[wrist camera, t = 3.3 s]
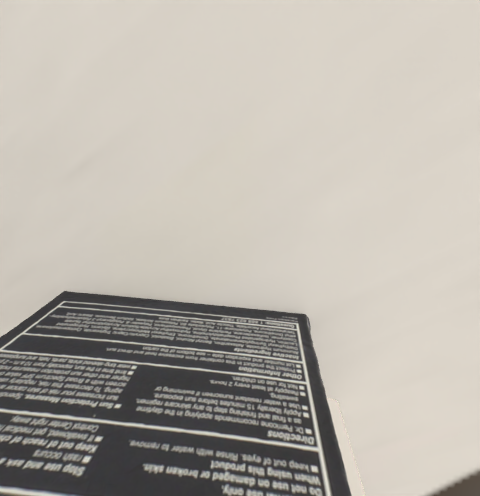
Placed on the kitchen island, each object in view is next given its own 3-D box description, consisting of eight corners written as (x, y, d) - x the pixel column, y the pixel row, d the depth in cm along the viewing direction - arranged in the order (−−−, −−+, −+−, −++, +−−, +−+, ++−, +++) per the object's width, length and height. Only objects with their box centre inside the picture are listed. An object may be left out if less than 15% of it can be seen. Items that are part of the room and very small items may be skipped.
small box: (74, 411, 15) (-328, 932, 5) (60, 286, 13) (-627, 706, 3) (294, 437, 14) (360, 1108, 4) (311, 310, 12) (504, 949, 2)
